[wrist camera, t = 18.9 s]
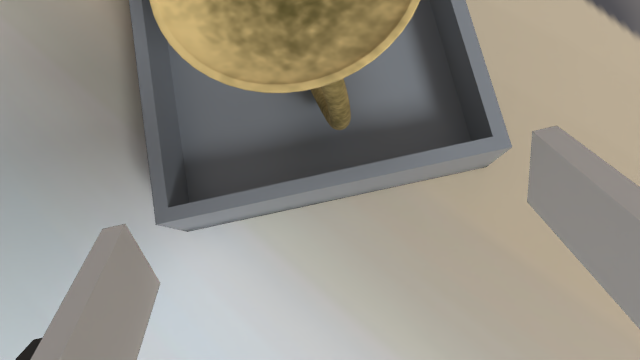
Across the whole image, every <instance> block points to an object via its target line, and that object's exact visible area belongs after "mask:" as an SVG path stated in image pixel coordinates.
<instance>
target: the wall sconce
mask: <svg viewBox="0 0 640 360" xmlns="http://www.w3.org/2000/svg"><path fill="white" fill-rule="evenodd" d="M149 1H150V5H151V8H152V12H153V15H154V18H155V20H156V22H157V24H158V26H159V28H160V30H161V32H162V34H163V35H164V37H165V38H166V40H167V41H168V43H169V44H170V45H171V46H172V47H173V49H174V50H175V51H176V52H177V53H178V54H179V55H180V56H181V57H182V58H183V59H184V60H185V61H187V62H188V63H189V64H190V65H191V66H193V67H194V68H195V69H197V70H198V71H200V72H202V73H203V74H205V75H207V76H208V77H210V78H212V79H215V80H217V81H219V82H221V83H224V84H226V85H229V86H233V87H236V88H240V89H243V90H248V91H255V92H262V93H290V92H300V91H306V90H311V92H312V94H313V96H314V98H315V100H316V102H317V104H318V106H319V108H320V110H321V112H322V114H323V115H324V117H325V119H326V121H327V122H328V123H329V125H330V126H331V127H332V128H333V129H335V130H343V129H345V128H346V127H347V126H348V125H349V123H350V120H351V111H350V103H349V98H348V93H347V89H346V85H345V81H344V78H345V77H347V76H349V75H351V74H353V73H355V72H357V71H359V70H360V69H362V68H363V67H365V66H366V65H368V64H369V63H371V62H372V61H373V60H375V59H376V58H377V57H378V56H379V55H380V54H382V53H383V52H384V51H385V50H386V49H387V48H388V47H389V46H390V45H391V44H392V43H393V42H394V41H395V40H396V38H397V37H398V36H399V35H400V34H401V33H402V32H403V30H404V29H405V27H406V25H407V24H408V22H409V21H410V19H411V18H412V16H413V15H414V12H415V10H416V8H417V6H418V4H419V2H420V0H149Z"/></svg>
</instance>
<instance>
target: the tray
mask: <svg viewBox="0 0 640 360" xmlns="http://www.w3.org/2000/svg"><path fill="white" fill-rule="evenodd" d="M129 4H130V13H131V21H132V29H133V38H134V46H135V54H136V63H137V71H138V80H139V88H140V96H141V105H142V113H143V121H144V130H145V138H146V147H147V155H148V163H149V172H150V180H151V188H152V197H153V205H154V214H155V222H156V225H160V226H164V227H169V228H173V229H178V230H183V231H187V232H188V231H193V230H197V229H202V228H207V227H211V226H216V225H221V224H225V223H230V222H234V221H239V220H244V219H248V218H253V217H257V216H262V215H267V214H271V213H276V212H281V211H285V210H290V209H294V208H299V207H304V206H308V205H313V204H318V203H322V202H327V201H331V200H336V199H341V198H345V197H350V196H355V195H359V194H364V193H368V192H373V191H378V190H382V189H387V188H391V187H396V186H401V185H405V184H410V183H415V182H419V181H424V180H428V179H433V178H438V177H442V176H447V175H452V174H456V173H461V172H465V171H470V170H475V169H479V168H484V167H487V166H488V165H489V164H491V163H492V162H493V161H495V160H496V159H497V158H499V157H500V156H501V155H502V154H504V153H505V152H506V151H508V150H509V149H510V148H512V145H511V142H510V139H509V136H508V133H507V130H506V126H505V123H504V120H503V117H502V114H501V111H500V108H499V105H498V101H497V98H496V95H495V92H494V89H493V86H492V83H491V79H490V76H489V73H488V70H487V67H486V64H485V61H484V57H483V54H482V51H481V48H480V45H479V42H478V39H477V35H476V32H475V29H474V26H473V23H472V20H471V17H470V13H469V10H468V7H467V4H466V1H465V0H420V2H419V4H418V6H417V8H416V10H415V12H414V15H413V16H412V18H411V19H410V21H409V22H408V24H407V25H406V27H405V29H404V30H403V32H402V33H401V34H400V35H399V36H398V37H397V38H396V40H395V41H394V42H393V43H392V44H391V45H390V46H389V47H388V48H387V49H386V50H385V51H384V52H383V53H382V54H380V55H379V56H378V57H377V58H376V59H375V60H373V61H372V62H371V63H369V64H368V65H366V66H365V67H363V68H362V69H360V70H359V71H357V72H355V73H353V74H351V75H349V76H347V77H345V78H344V81H345V85H346V89H347V93H348V98H349V103H350V111H351V120H350V123H349V125H348V126H347V127H346V128H345V129H343V130H335V129H333V128H332V127H331V126H330V125H329V123H328V122H327V121H326V119H325V117H324V115H323V114H322V112H321V110H320V108H319V106H318V104H317V102H316V100H315V98H314V96H313V94H312V92H311V90H306V91H300V92H290V93H262V92H255V91H248V90H243V89H240V88H236V87H233V86H229V85H226V84H224V83H221V82H219V81H217V80H215V79H212V78H210V77H208V76H207V75H205V74H203V73H202V72H200V71H198V70H197V69H195V68H194V67H193V66H191V65H190V64H189V63H188V62H187V61H185V60H184V59H183V58H182V57H181V56H180V55H179V54H178V53H177V52H176V51H175V50H174V49H173V47H172V46H171V45H170V44H169V43H168V41H167V40H166V38H165V37H164V35H163V34H162V32H161V30H160V28H159V26H158V24H157V22H156V20H155V18H154V15H153V12H152V8H151V5H150V1H149V0H129Z"/></svg>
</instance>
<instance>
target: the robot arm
mask: <svg viewBox="0 0 640 360" xmlns="http://www.w3.org/2000/svg"><path fill="white" fill-rule="evenodd" d="M527 202H528V203H529V204H530V206H531V207H532V208H533V209H534V210H535V211H536V212H537V214H538V215H539V216H540V217H541V218H542V219H543V220H544V221H545V223H546V224H547V225H548V226H549V227H550V228H551V229H552V230H553V232H554V233H555V234H556V235H557V236H558V237H559V238H560V240H561V241H562V242H563V243H564V244H565V245H566V246H567V247H568V249H569V250H570V251H571V252H572V253H573V254H574V255H575V257H576V258H577V259H578V260H579V261H580V262H581V263H582V264H583V266H584V267H585V268H586V269H587V270H588V271H589V272H590V273H591V275H592V276H593V277H594V278H595V279H596V280H597V281H598V283H599V284H600V285H601V286H602V287H603V288H604V289H605V290H606V292H607V293H608V294H609V295H610V296H611V297H612V298H613V299H614V301H615V302H616V303H617V304H618V305H619V306H620V307H621V309H622V310H623V311H624V312H625V313H626V314H627V315H628V316H629V318H630V319H631V320H632V321H633V322H634V323H635V324H636V326H637V327H638V328H639V329H640V187H639V186H638V185H636V184H635V183H634V182H632V181H631V180H630V179H628V178H627V177H625V176H624V175H623V174H621V173H620V172H619V171H617V170H616V169H615V168H613V167H612V166H611V165H609V164H608V163H607V162H605V161H604V160H603V159H601V158H600V157H599V156H597V155H596V154H594V153H593V152H592V151H590V150H589V149H588V148H586V147H585V146H584V145H582V144H581V143H580V142H578V141H577V140H576V139H574V138H573V137H572V136H570V135H569V134H568V133H566V132H565V131H563V130H562V129H561V128H559V127H558V126H553V127H549V128H545V129H540V130H536V131H532V143H531V157H530V171H529V184H528V198H527ZM159 286H160V282H159V280H158V278H157V277H156V275H155V273H154V271H153V270H152V268H151V266H150V265H149V263H148V261H147V260H146V258H145V256H144V255H143V253H142V251H141V249H140V248H139V246H138V244H137V243H136V241H135V239H134V238H133V236H132V234H131V233H130V231H129V229H128V227H127V226H126V224H122V225H118V226H113V227H109V228H105V229H102V231H101V232H100V234H99V236H98V238H97V240H96V241H95V243H94V245H93V247H92V249H91V251H90V252H89V254H88V256H87V258H86V260H85V261H84V263H83V265H82V267H81V269H80V271H79V272H78V274H77V276H76V278H75V280H74V281H73V283H72V285H71V287H70V289H69V291H68V292H67V294H66V296H65V298H64V300H63V301H62V303H61V305H60V307H59V309H58V311H57V312H56V314H55V316H54V318H53V320H52V321H51V323H50V325H49V327H48V329H47V331H46V332H45V334H44V336H43V338H39V339H35V340H33V341H32V342H31V343H30V344H29V345H28V346H27V347H26V348H25V350H24V351H23V352H22V353H21V354H20V355H19V356H18V357H17V358H16V360H137V357H138V354H139V350H140V347H141V344H142V341H143V338H144V334H145V331H146V328H147V325H148V322H149V318H150V315H151V312H152V309H153V305H154V302H155V299H156V296H157V293H158V289H159Z"/></svg>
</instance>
